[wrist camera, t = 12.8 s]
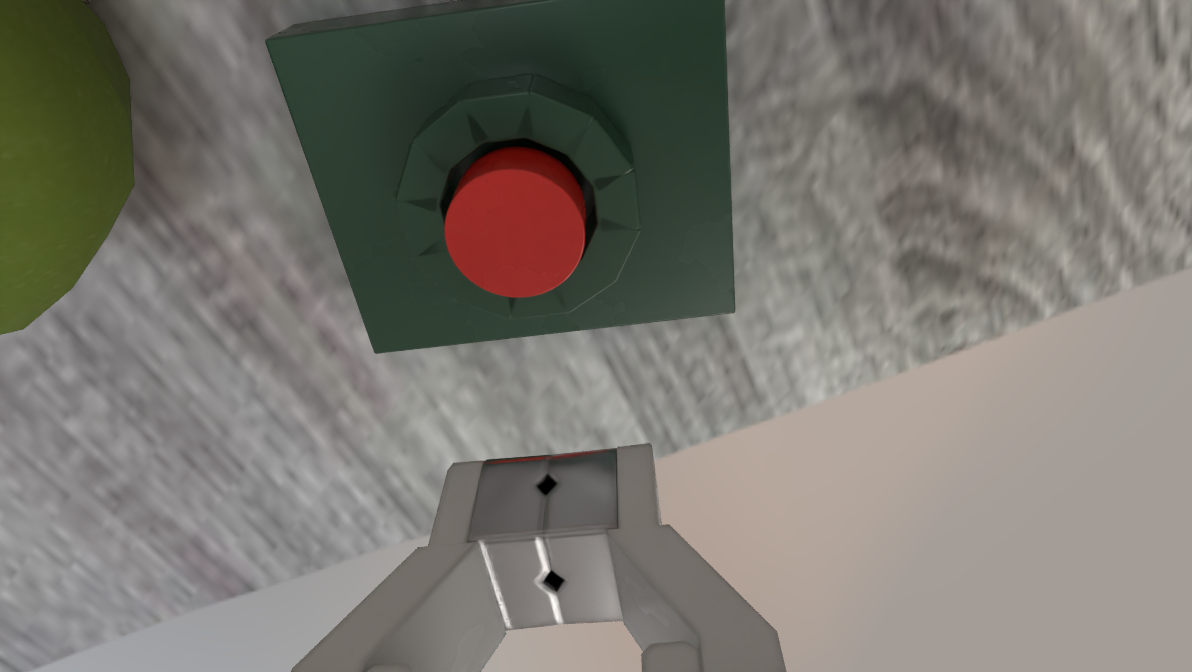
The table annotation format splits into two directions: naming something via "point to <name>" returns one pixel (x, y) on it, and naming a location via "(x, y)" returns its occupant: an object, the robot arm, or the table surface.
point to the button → (516, 222)
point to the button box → (520, 119)
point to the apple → (57, 150)
